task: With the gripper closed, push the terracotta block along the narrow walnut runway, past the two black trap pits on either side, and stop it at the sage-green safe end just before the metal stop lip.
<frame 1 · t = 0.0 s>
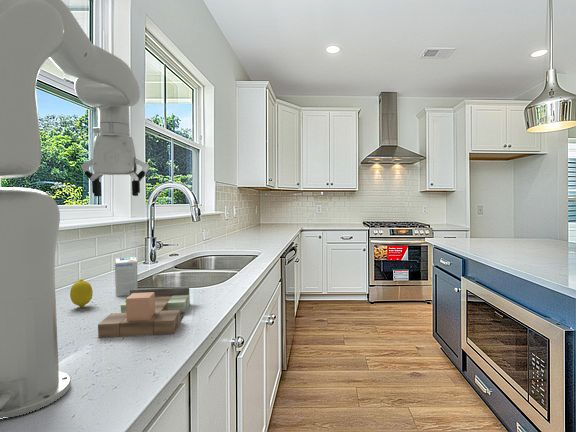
hand: (116, 196, 99), 31 cm above the counter, tool pointing down, fingers open, 9 cm apart
block: (141, 316, 84), point 3 cm above the counter, touching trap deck
light bulb box: (126, 292, 121), on the counter
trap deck: (150, 318, 92), on the counter
lemon: (82, 308, 104), on the counter
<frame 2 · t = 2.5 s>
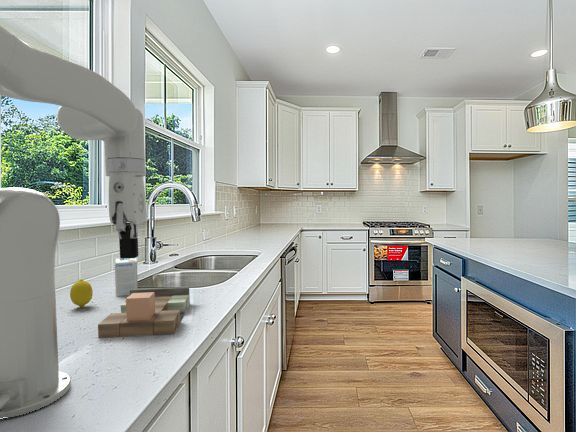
hand: (129, 257, 76), 18 cm above the counter, tool pointing down, fingers closed
nothing on the counter moved.
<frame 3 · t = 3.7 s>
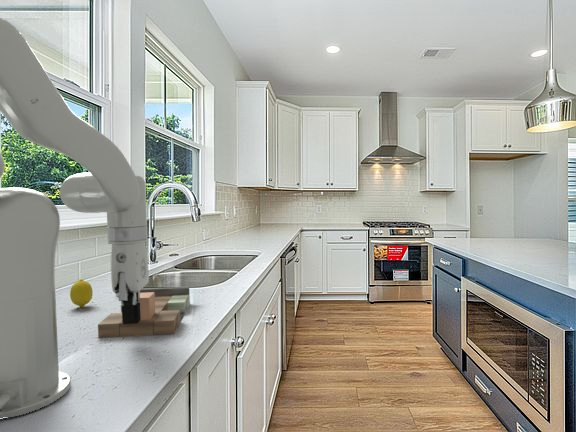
hand: (131, 322, 77), 4 cm above the counter, tool pointing down, fingers closed
nothing on the counter moved.
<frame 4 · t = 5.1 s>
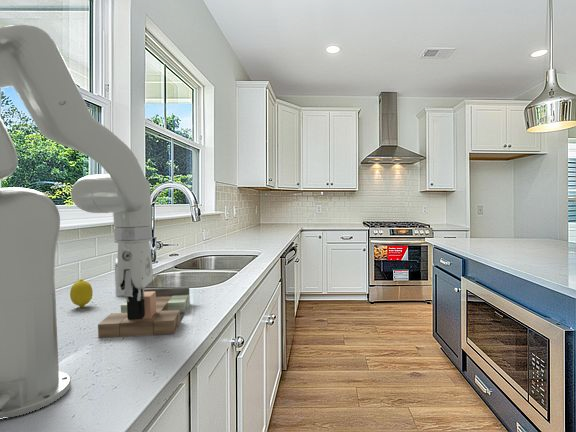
hand: (136, 318, 80), 4 cm above the counter, tool pointing down, fingers closed
block: (142, 315, 85), point 3 cm above the counter, touching gripper, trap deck
everything else where it was.
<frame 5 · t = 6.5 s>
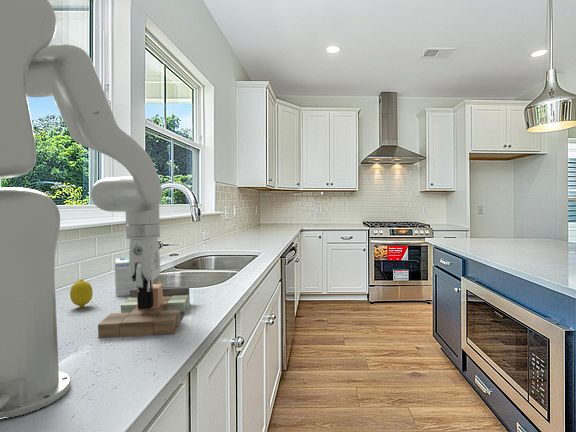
hand: (145, 307, 88), 4 cm above the counter, tool pointing down, fingers closed
block: (150, 305, 93), point 3 cm above the counter, touching gripper
everything else where it was.
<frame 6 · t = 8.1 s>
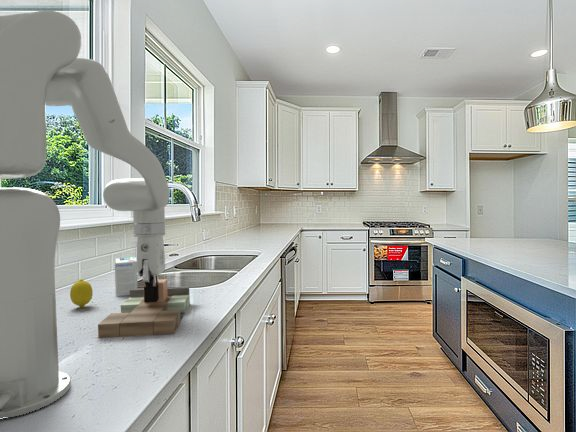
hand: (151, 301, 94), 4 cm above the counter, tool pointing down, fingers closed
block: (156, 299, 99), point 3 cm above the counter, touching gripper, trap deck
everything else where it was.
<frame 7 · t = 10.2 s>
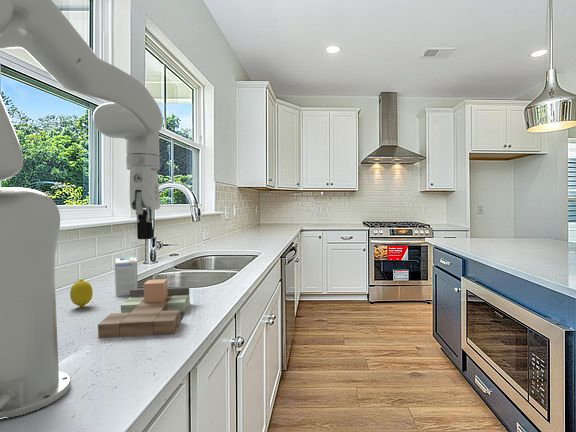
hand: (145, 238, 89), 20 cm above the counter, tool pointing down, fingers closed
block: (156, 299, 99), point 3 cm above the counter, touching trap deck
everything else where it was.
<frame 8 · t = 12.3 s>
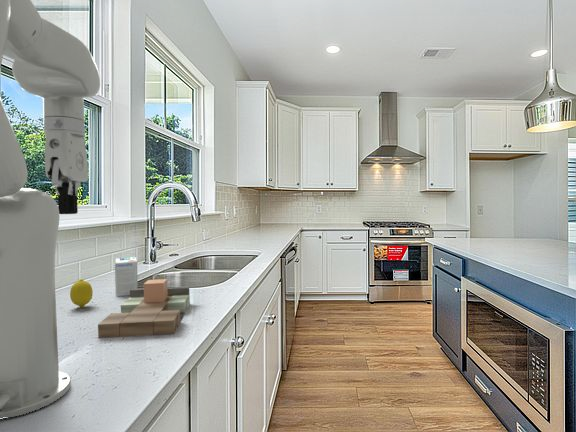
hand: (68, 213, 80), 27 cm above the counter, tool pointing down, fingers closed
nothing on the counter moved.
at the end: block 0.9 cm from the target spot, point 3.0 cm above the counter; block tilted 0° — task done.
